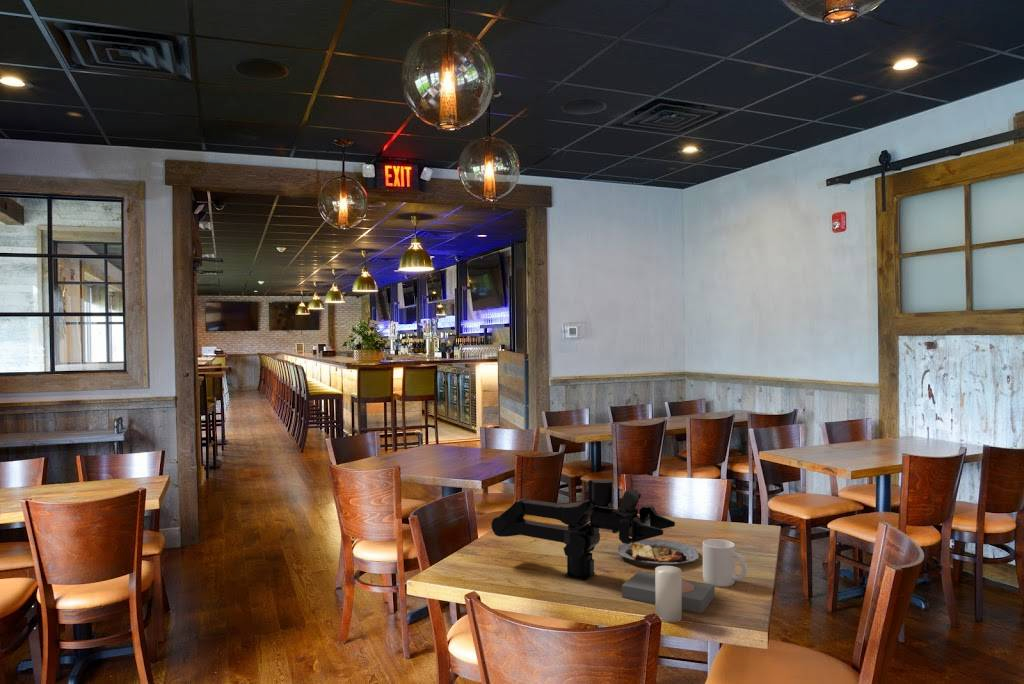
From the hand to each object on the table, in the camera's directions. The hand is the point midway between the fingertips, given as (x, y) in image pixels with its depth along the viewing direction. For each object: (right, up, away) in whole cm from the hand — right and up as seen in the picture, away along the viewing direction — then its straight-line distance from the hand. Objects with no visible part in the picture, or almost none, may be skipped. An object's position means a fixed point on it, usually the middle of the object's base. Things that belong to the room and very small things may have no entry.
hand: (669, 528), depth 173 cm
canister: (-4, -17, -15) cm, 23 cm away
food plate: (+4, -17, +30) cm, 34 cm away
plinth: (-1, -17, -3) cm, 17 cm away
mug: (+16, -17, +7) cm, 24 cm away
